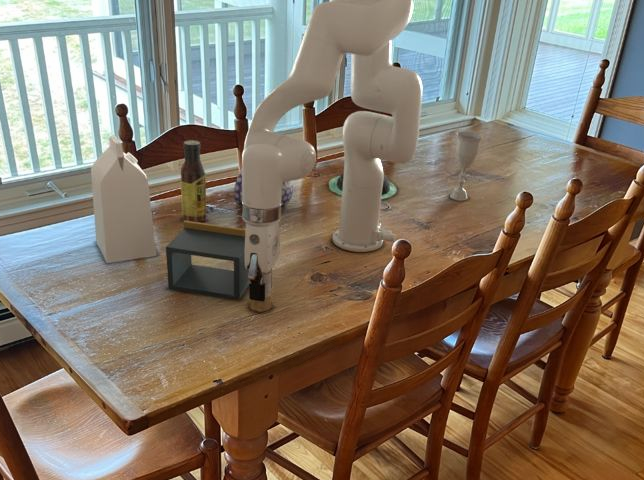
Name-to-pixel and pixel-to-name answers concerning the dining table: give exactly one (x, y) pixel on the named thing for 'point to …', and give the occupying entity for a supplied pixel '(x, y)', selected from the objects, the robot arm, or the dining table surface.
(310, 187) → the dining table surface
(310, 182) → the dining table surface
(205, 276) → the shelf
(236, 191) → the teapot
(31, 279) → the dining table surface
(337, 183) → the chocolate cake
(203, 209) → the sauce bottle
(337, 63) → the robot arm
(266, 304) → the sprinkles bottle
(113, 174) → the milk
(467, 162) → the chalice
